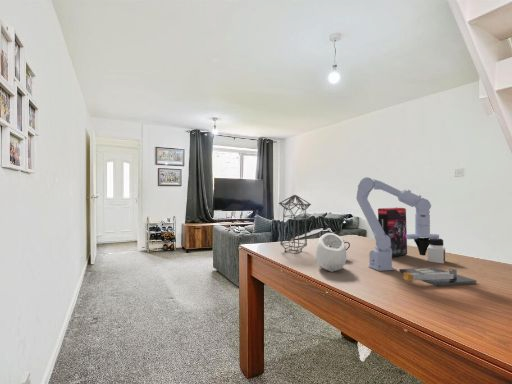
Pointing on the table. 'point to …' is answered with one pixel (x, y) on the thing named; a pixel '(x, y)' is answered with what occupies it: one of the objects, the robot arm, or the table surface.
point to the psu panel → (440, 282)
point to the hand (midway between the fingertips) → (422, 254)
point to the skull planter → (331, 252)
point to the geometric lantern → (294, 222)
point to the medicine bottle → (436, 251)
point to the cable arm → (431, 275)
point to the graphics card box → (394, 228)
